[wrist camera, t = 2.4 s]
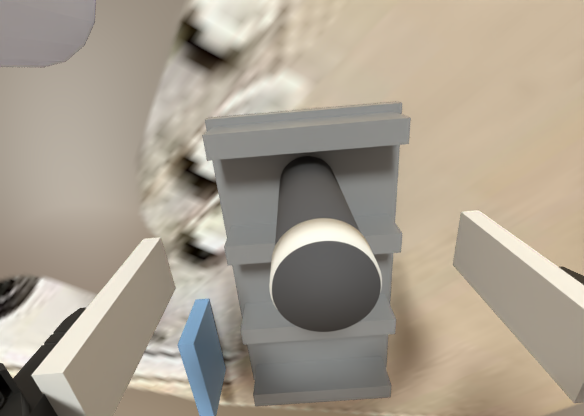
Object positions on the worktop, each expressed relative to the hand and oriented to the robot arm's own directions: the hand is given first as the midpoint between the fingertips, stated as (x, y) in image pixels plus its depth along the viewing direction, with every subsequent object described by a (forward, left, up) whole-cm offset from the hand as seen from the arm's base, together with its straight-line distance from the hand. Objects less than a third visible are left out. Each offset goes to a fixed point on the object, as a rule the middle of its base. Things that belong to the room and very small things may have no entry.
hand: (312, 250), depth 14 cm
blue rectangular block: (+10, +15, -10) cm, 21 cm away
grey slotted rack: (0, +8, -10) cm, 13 cm away
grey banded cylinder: (0, 0, -9) cm, 9 cm away
